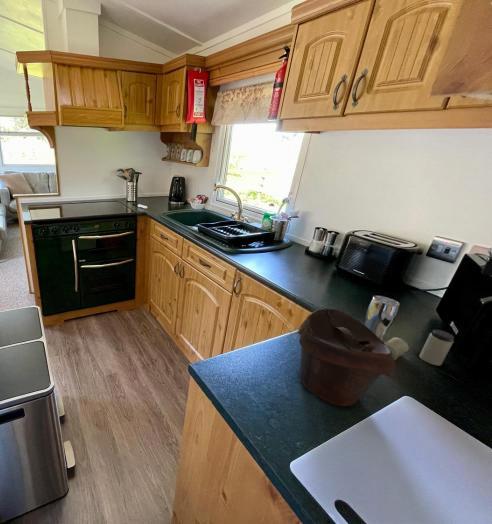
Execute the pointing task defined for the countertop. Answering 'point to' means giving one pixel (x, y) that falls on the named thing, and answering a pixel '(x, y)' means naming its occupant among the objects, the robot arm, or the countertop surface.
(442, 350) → the pepper shaker
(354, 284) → the countertop surface
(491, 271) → the robot arm
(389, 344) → the salt shaker
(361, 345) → the brown lidded pot
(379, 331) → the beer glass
